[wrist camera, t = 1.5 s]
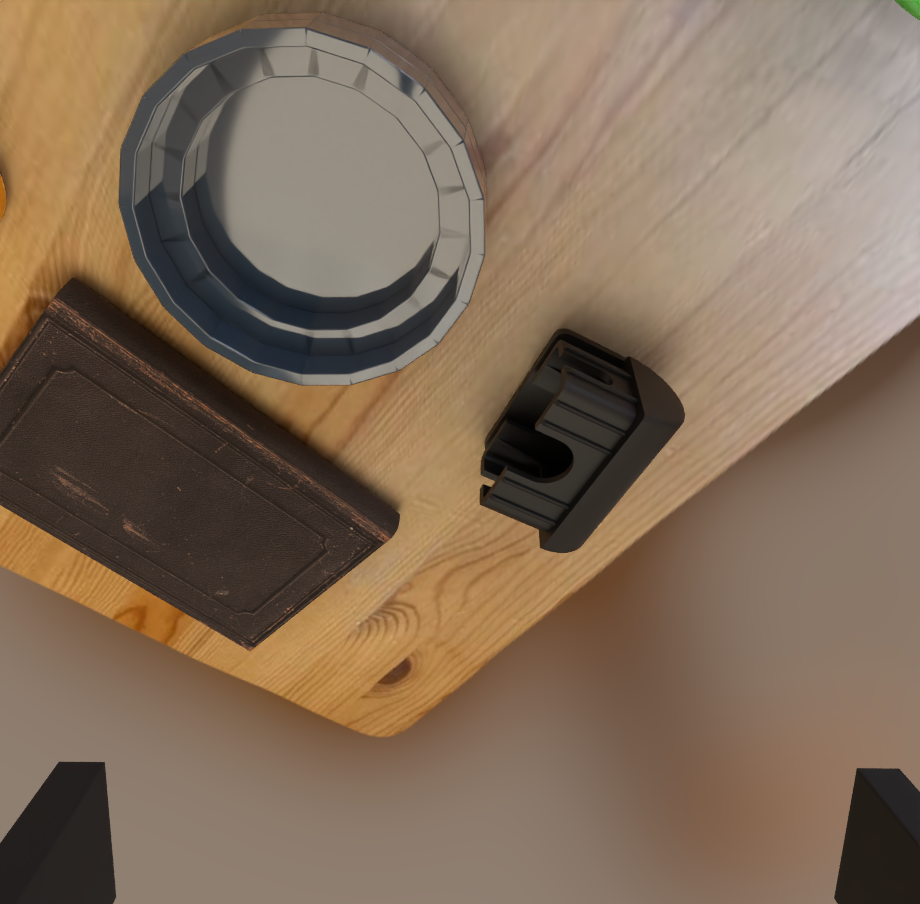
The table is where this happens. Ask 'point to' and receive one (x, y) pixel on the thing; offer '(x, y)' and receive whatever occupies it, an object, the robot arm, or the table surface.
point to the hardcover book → (173, 474)
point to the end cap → (576, 439)
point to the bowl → (305, 199)
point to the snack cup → (911, 7)
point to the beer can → (2, 198)
